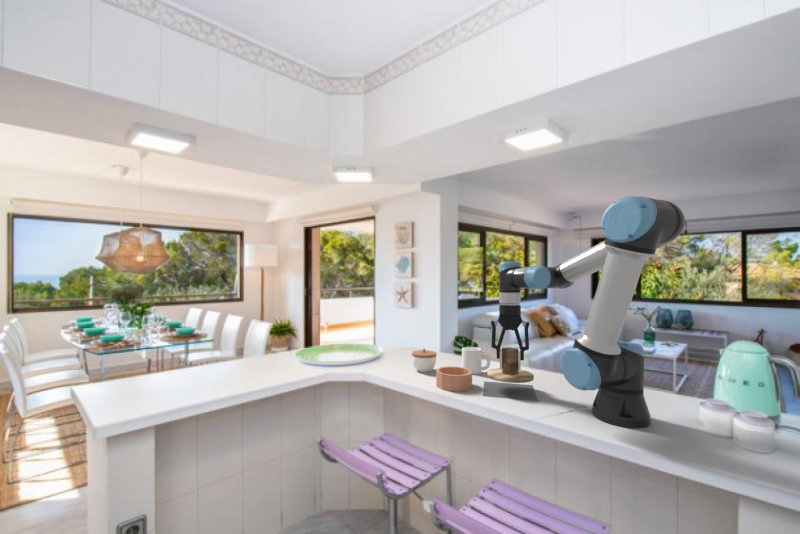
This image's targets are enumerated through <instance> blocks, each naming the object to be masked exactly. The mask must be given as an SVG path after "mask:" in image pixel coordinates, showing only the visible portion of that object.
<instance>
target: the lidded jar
mask: <svg viewBox="0 0 800 534" xmlns="http://www.w3.org/2000/svg"><path fill="white" fill-rule="evenodd" d="M411 360H412V365H413V367H414V368H415V370H416V371H417V372H419V371H420V373H429V371H430V372H431V371H432V370H433V369H434V368H435V366H436V363H437V352H435V351H433V350H429V349H427V350H426V348H423V349H418V350H414V351H412V352H411Z"/></svg>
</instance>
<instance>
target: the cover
mask: <svg viewBox="0 0 800 534" xmlns="http://www.w3.org/2000/svg"><path fill="white" fill-rule="evenodd" d="M501 349H502V369H500V367H499V368H492V369H490V370H487V378H489V379H491V380H493V381H496V382H500V383H511V384H522V383H523V384H525V383H530V382H533V381H534V378H535V377H534V374H533V373H532V372H531V371H527V370H523V369H521V370H518V350H519V348H515V347H512V346H510V347H509V346H507V347H502V348H501Z"/></svg>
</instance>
